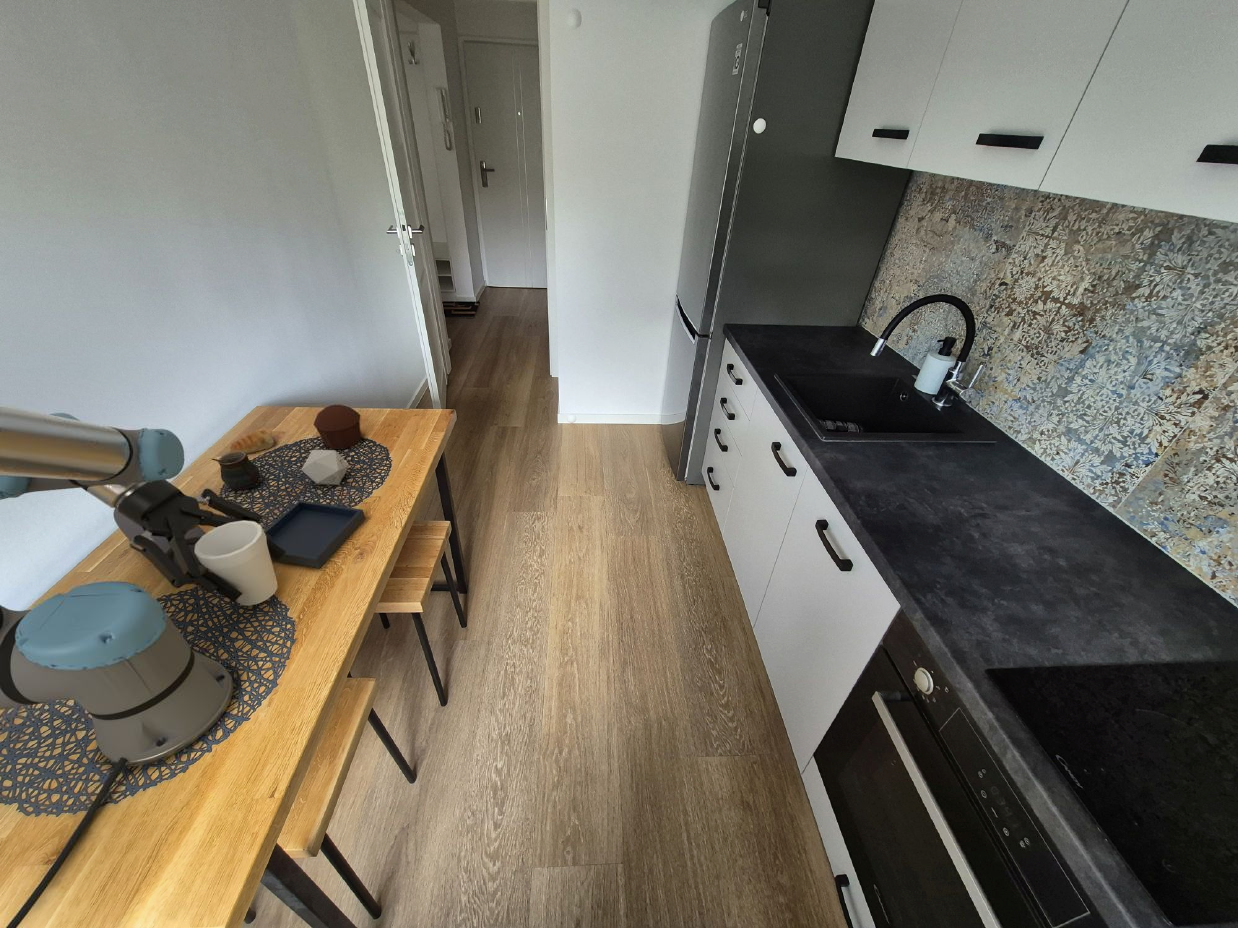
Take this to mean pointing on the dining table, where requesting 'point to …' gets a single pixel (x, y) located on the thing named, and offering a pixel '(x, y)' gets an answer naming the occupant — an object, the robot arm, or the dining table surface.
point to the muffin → (338, 426)
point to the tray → (313, 532)
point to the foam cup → (239, 559)
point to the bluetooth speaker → (160, 538)
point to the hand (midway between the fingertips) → (261, 576)
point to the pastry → (253, 442)
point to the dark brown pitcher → (238, 470)
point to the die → (325, 467)
